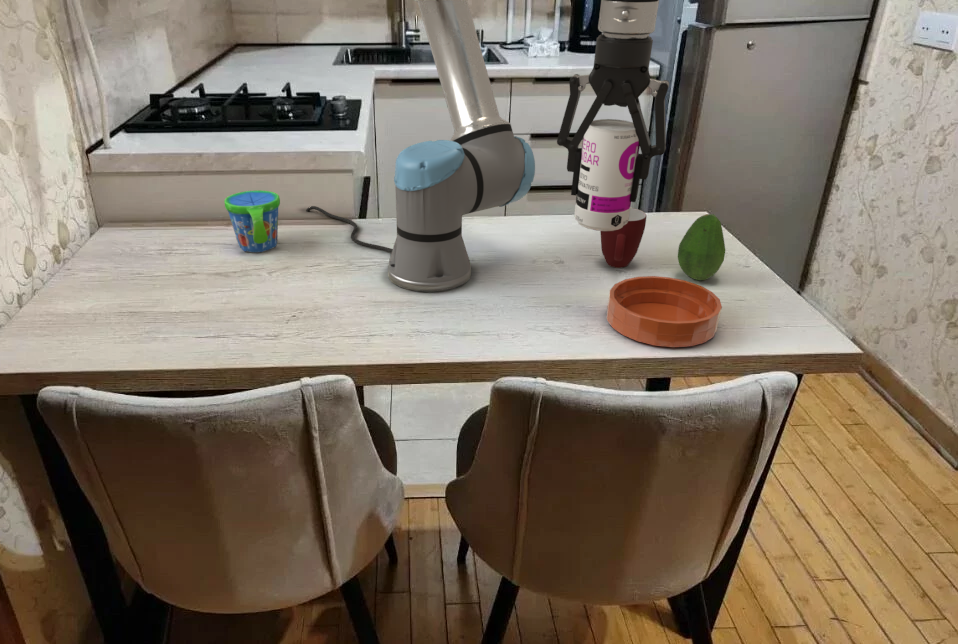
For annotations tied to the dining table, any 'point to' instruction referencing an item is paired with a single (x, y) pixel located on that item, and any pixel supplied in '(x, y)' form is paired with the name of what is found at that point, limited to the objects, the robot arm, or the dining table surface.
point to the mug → (624, 240)
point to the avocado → (702, 248)
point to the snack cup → (254, 219)
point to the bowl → (663, 311)
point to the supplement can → (606, 174)
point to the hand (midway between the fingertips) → (603, 195)
